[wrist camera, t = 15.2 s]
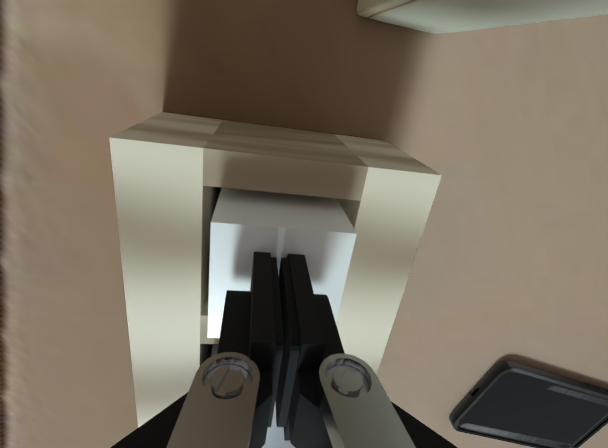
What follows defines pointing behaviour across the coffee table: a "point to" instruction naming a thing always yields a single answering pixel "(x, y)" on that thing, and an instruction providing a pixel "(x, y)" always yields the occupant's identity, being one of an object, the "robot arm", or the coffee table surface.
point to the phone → (532, 408)
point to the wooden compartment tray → (197, 223)
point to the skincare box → (475, 12)
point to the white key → (276, 243)
